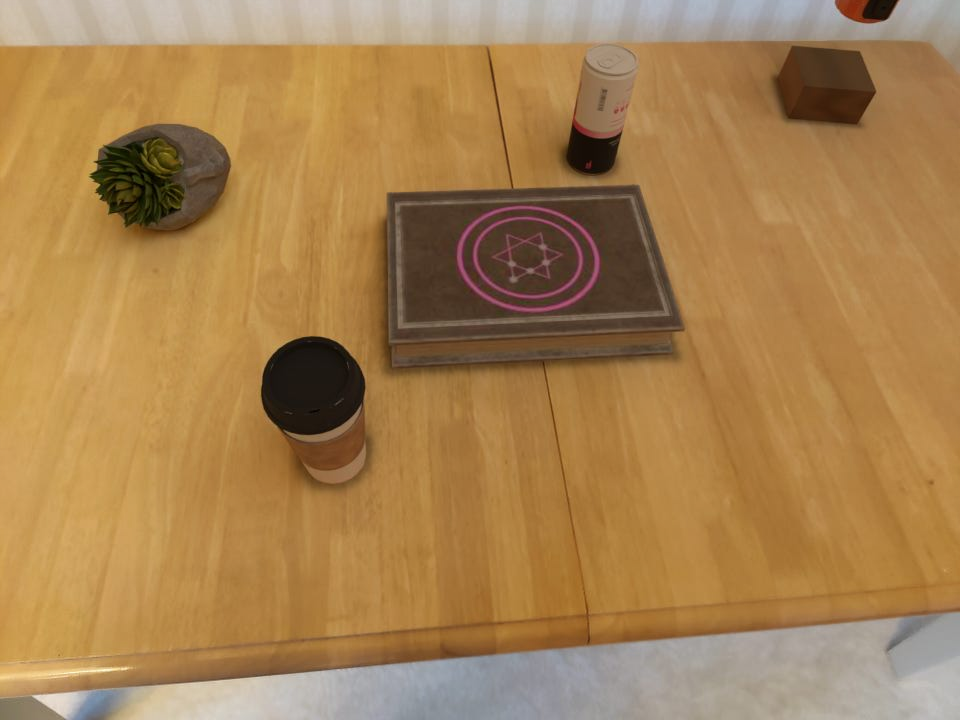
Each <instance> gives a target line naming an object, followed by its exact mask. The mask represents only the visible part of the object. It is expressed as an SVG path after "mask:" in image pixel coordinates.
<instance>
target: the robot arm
mask: <svg viewBox="0 0 960 720" xmlns="http://www.w3.org/2000/svg"><path fill="white" fill-rule="evenodd" d="M897 1H898V0H869V1H868V3H867V5H866V7H865V9H864V11H863V13H862V16H863V18H864V19H875V20H885V21H887V20H889V19H888V17H889V16H890V14H891V12H892V10H893V9H894V7H895V5H896V3H897ZM894 10H895V9H894ZM886 19H887V20H886Z"/></svg>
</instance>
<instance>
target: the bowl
mask: <svg viewBox="0 0 960 720" xmlns="http://www.w3.org/2000/svg"><path fill="white" fill-rule="evenodd" d="M868 1H869V0H834V6H835V7H836V9H837V10H838V12H839V13H840V14H841V15H842V16H843V17H845V18H846V19H849V20H851V21H853V22H857V23H861V24H867V25H869V24H870V25H872V24H878V23H883V22H885V21H887V20H889V19H890V18H891V17H892V15H893V14H894V11H895V10H896V8H897V6H898V4H899V2H900V1H901V0H898V1H897V3H896V5H895V7H894V9H893V10H892V12H891V14H890V16H889V17H888V19H886V20H875V19H864V18H863V16H862V13H863V11H864V9H865V7H866V5H867V3H868Z"/></svg>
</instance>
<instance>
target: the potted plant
mask: <svg viewBox="0 0 960 720" xmlns="http://www.w3.org/2000/svg"><path fill="white" fill-rule="evenodd" d="M92 163H95V164H96V170H94V171H93V172H91V173H89V176H88V178H90V179H92V182H93V183H96V184H98V185H99V186H97V188H96V189H95V191H94V194H97V196H100V198H99V199H98V201H101V202H104V203H106V204H107V206H108V213H107V216H109V215H113V214H117V215H118V216H120V217H121V219H123V220H124V222H123V225H124V228H125V229H126V228H128V227H130V226H131V225H134V224H136V225H139V228H141V227H142V226H143V227H144V229H146V230H147V228H149V229H152V230H160V231H161V230H162V231H177V230H179V229H182V228H184V227H186V226H188V225H191V224H193V223H194V222H195V221H196V220H198V219H199V218H200V217H202V216H203V215H205V214H206V213H207V212H208V211H209V210H211V209H213V208H214V207H215V206H216V204H217V203H218V201H219V200H220V198H221V196H222V195H223V193H224V191H225V188H226V186H227V182H228V178H229V174H230V171H231V168H232V162H231V157H230V155H229V152H228V151H227V148H226V146H225V145H224V144H223V143H222V142H221V141H219V140H218V139H217V138H216V136H214V135H213V134H210V133H208V132H206V131H205V130H203V129H200V128H199V127H195V126H191V125H186V124H181V123H153V124H150V125H144V126H142V127H139V128H137V129H134V130H132V131H130V132H127V133H125V134H124V135H121V136H119V137H118V138H116V139H114V140H113V141H111V142H109V143H107V144H102V147H100V148H99V149H98V151H97V160H93V161H92Z"/></svg>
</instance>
